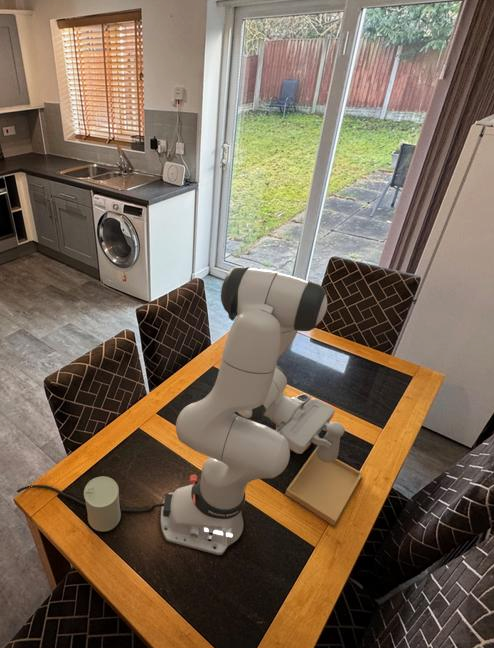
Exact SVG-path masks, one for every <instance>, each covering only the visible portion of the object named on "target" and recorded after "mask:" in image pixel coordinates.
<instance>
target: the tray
mask: <svg viewBox="0 0 494 648" xmlns="http://www.w3.org/2000/svg"><path fill="white" fill-rule="evenodd" d="M363 474H364V473H363V472H361V471H359V470H358V469H356V468H354V467H352V466H350V465H349V464H347V463H345V462H343V461H342V460H340V459H338V458H336V459H335V460H333V461H332V462H330V463H327V462H322V461H321V460H320V459H319V458H318V457H317V452H316V448H315V449H314V450H313V451H312V453H311V455H310V456H309V457H308V459H307V460H306V461H305V463H304V464H303V466H302V467H301V468H300V469H299V471H298V473H296V476H295V477H294V478H293V480H292V481H291V482H290V484H289V485H288V487H287V488H286V490H285V492H284V495H285V496H287V497H288V498H290V499H291V500H293V501H294V502H296V503H298V504H299V505H301V507H304V508H305V509H307V510H308V511H310V512H311V513H313V514H314V515H316V516H318V517H319V518H320V519H322V520H323V521H325V522H327V523H328V524H329V525H331V526H332V527H334V526H335V525H336V523H337V521H339V518H340V516H341V514H342V512H343V511H344V509H345V507H346V505H347V503H348V502H349V500H350V498H351V496H352V495H353V493H354V490H355V489H356V487H357V485H358V483H359V482H360V480H361V478H362V476H363Z"/></svg>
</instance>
